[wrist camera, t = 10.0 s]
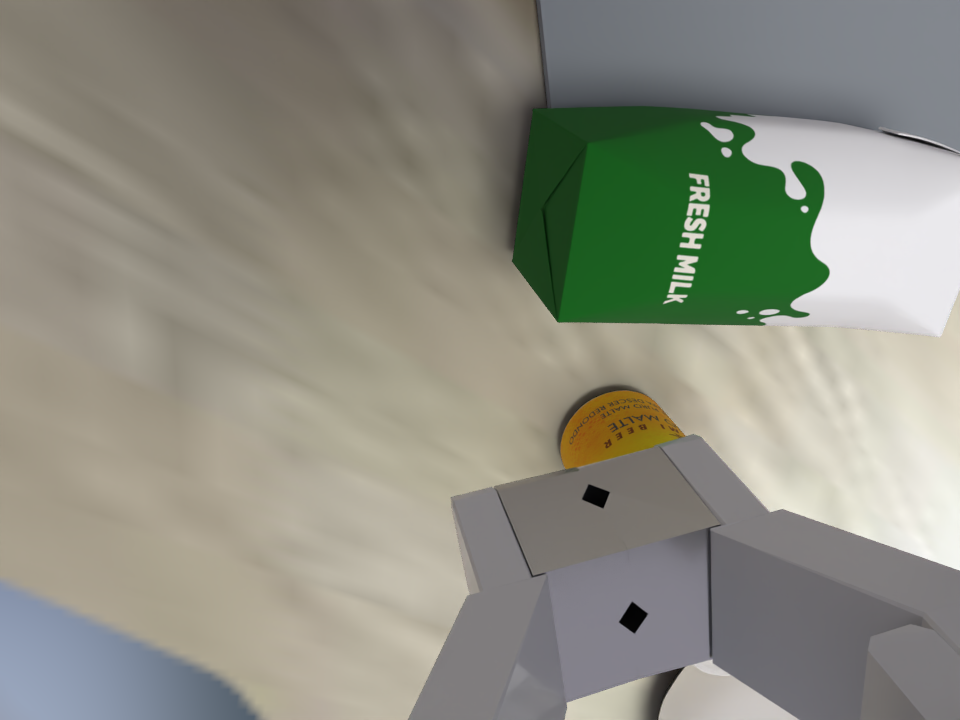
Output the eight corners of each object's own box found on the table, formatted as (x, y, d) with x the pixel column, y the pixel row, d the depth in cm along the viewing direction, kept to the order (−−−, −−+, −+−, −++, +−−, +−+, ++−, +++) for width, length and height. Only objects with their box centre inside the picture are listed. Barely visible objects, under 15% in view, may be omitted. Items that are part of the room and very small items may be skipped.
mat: (531, -46, 33) (535, -46, 33) (998, -124, 36) (1009, -125, 36) (568, 306, 40) (572, 310, 40) (956, 218, 43) (965, 221, 43)
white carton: (503, 273, 38) (859, 284, 43) (560, 355, 31) (987, 358, 36) (528, 81, 35) (915, 118, 40) (601, 120, 27) (1072, 159, 32)
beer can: (674, 390, 44) (842, 564, 31) (641, 484, 46) (784, 684, 33) (573, 377, 42) (704, 555, 29) (543, 475, 44) (653, 683, 31)
